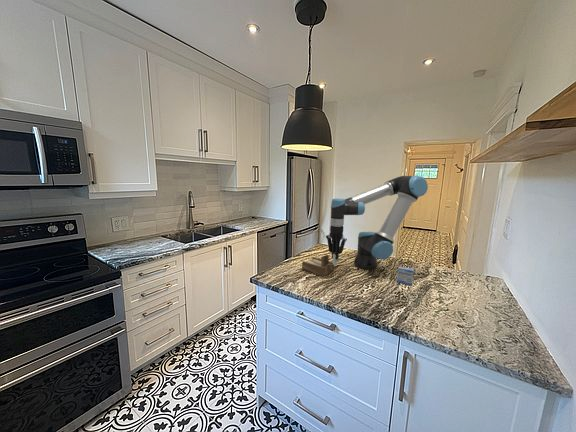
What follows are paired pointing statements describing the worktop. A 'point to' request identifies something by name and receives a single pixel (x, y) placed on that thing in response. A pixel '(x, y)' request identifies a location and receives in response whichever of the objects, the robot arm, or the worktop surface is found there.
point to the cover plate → (320, 263)
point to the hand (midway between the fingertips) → (334, 264)
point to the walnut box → (318, 268)
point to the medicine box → (405, 275)
